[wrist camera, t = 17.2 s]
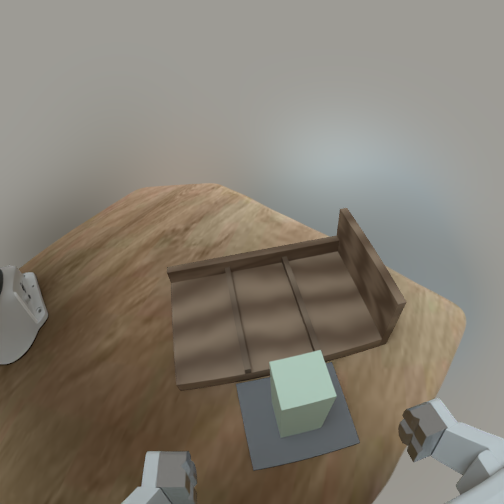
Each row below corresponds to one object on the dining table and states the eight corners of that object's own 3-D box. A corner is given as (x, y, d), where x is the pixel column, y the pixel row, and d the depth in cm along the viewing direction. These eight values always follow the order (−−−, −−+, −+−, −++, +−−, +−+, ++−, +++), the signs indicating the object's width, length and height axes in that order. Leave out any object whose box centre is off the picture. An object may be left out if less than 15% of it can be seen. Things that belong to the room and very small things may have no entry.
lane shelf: (385, 343, 41) (406, 301, 34) (180, 390, 39) (156, 356, 32) (340, 253, 55) (346, 207, 48) (174, 285, 52) (157, 241, 45)
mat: (359, 443, 32) (359, 442, 31) (253, 470, 31) (253, 470, 30) (331, 363, 40) (331, 362, 40) (236, 385, 39) (236, 383, 39)
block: (320, 427, 34) (336, 395, 25) (280, 437, 33) (281, 410, 25) (310, 392, 37) (320, 349, 29) (271, 402, 37) (269, 361, 28)
